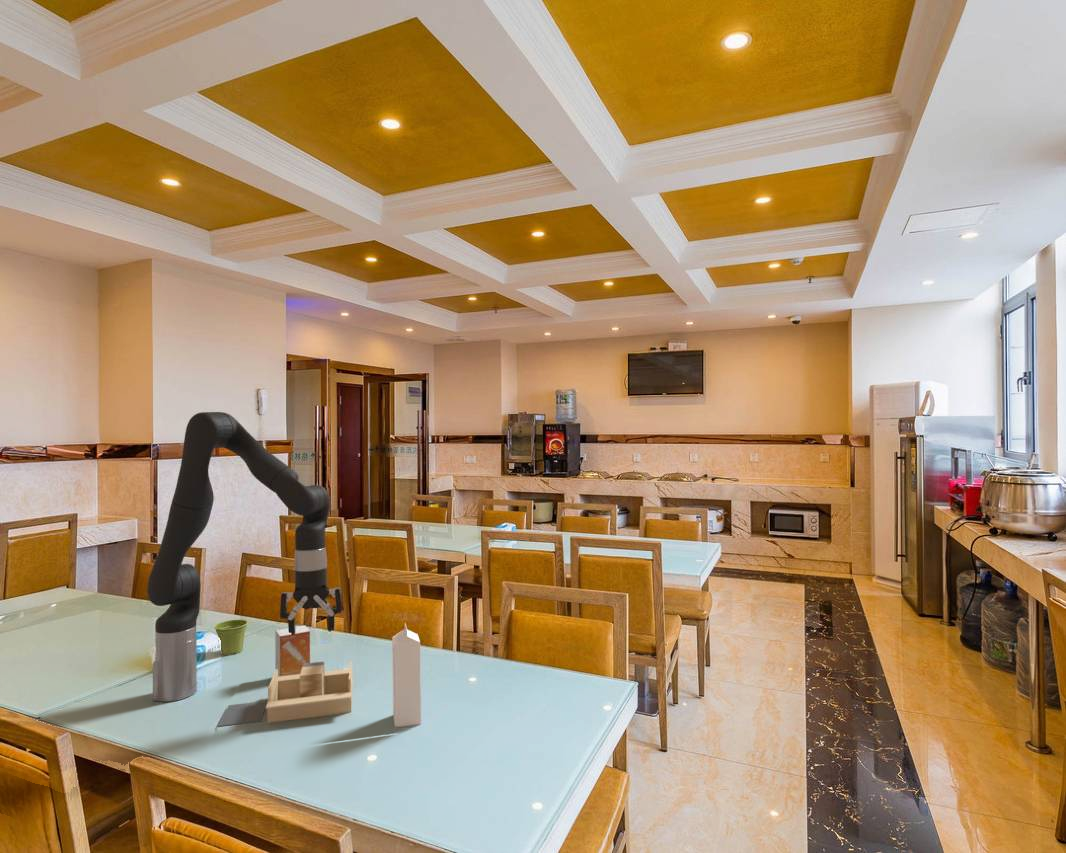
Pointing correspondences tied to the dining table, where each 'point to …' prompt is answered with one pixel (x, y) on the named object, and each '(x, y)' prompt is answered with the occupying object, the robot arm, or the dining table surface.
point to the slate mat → (243, 713)
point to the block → (312, 679)
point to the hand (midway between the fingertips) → (312, 632)
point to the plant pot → (231, 635)
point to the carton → (290, 705)
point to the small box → (292, 650)
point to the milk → (406, 679)
